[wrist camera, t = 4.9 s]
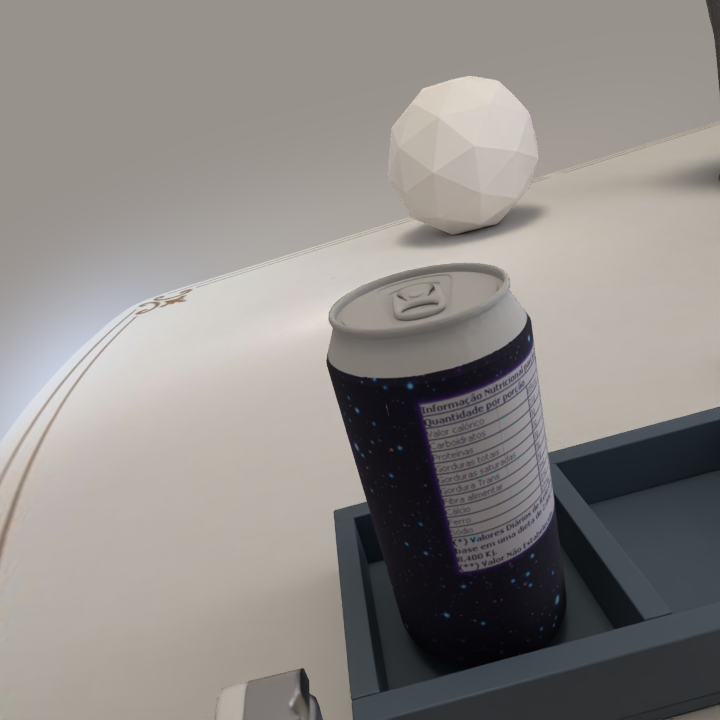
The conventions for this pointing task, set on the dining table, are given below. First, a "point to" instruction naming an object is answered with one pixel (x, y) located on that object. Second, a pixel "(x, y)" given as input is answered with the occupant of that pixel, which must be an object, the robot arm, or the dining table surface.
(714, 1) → the vase
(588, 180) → the dining table surface
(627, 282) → the dining table surface
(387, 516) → the beverage can
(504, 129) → the ball
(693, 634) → the divided tray
